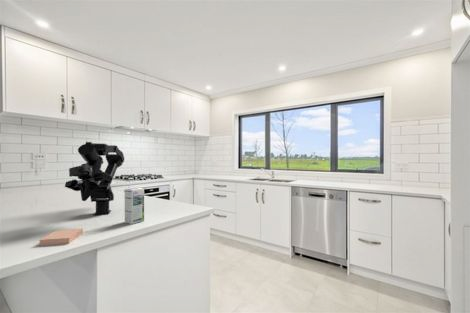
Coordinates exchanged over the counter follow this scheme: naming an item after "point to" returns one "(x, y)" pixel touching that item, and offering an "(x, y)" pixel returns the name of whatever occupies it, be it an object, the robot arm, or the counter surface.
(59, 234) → the tile
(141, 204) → the syrup box
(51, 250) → the counter surface
